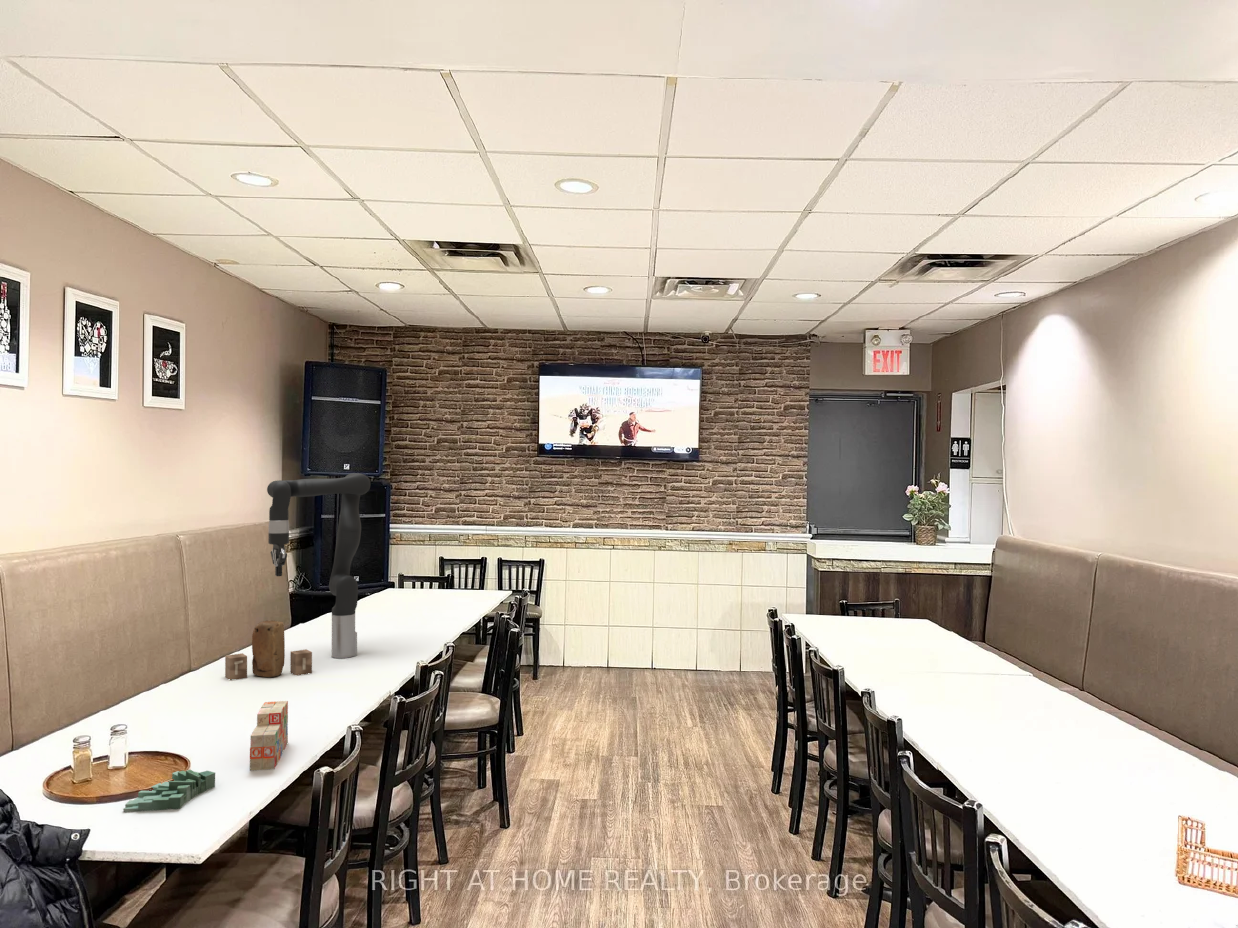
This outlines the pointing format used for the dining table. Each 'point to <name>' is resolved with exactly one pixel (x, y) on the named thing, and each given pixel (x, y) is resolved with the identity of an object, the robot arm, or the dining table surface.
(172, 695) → the dining table surface
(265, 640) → the block
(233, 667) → the brown letter block
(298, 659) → the walnut block one
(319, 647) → the dining table surface
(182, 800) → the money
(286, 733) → the stack of blocks
